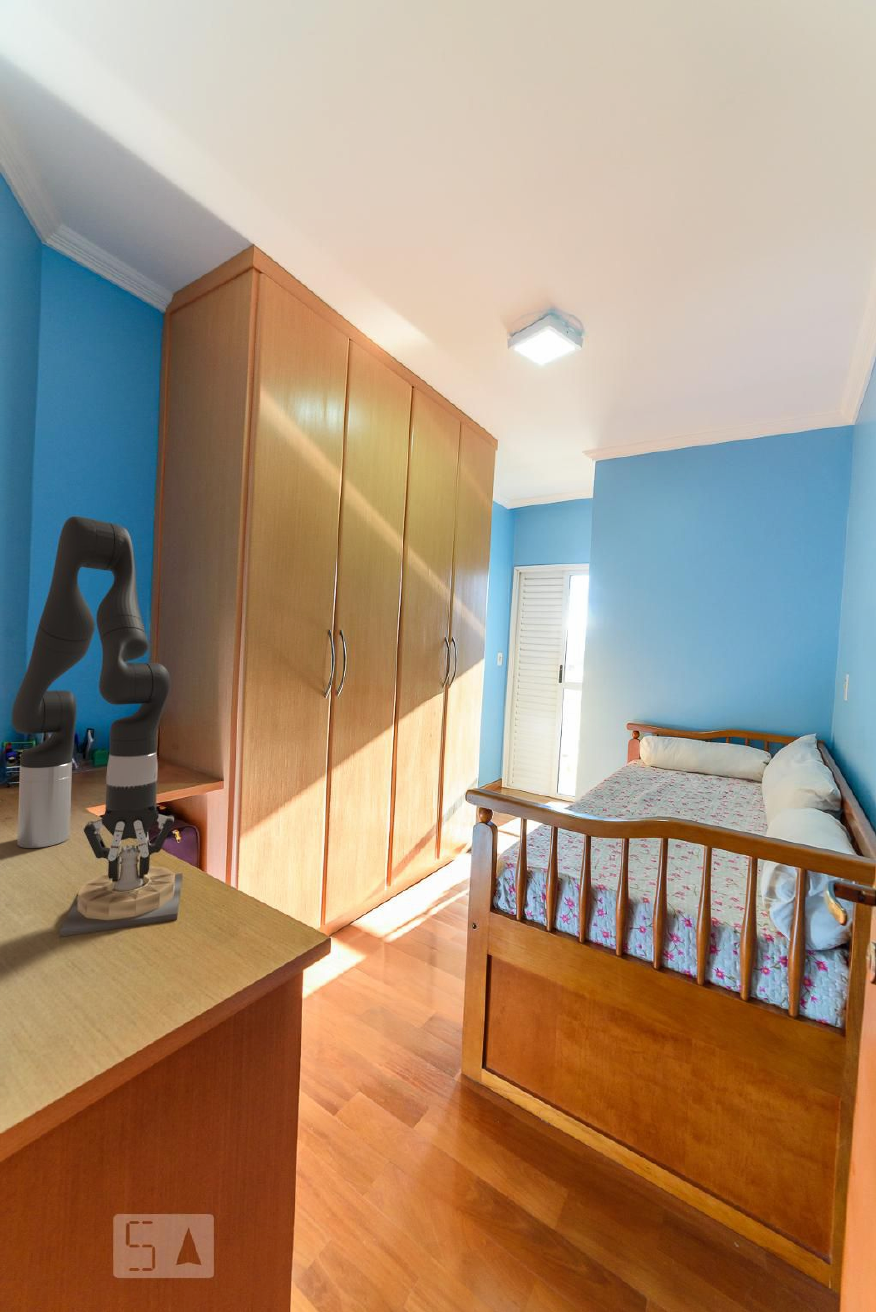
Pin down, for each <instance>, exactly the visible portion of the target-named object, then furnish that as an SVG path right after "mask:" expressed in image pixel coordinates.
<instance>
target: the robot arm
mask: <svg viewBox="0 0 876 1312" xmlns="http://www.w3.org/2000/svg"><path fill="white" fill-rule="evenodd" d="M81 568H86V569H93V570H101V571H108V572H111V573H112V575H113V583H112V585H111V587H110V588H109V590H108V592H107V593H106V594H105V596H104V597H103V599H102V600H101V602H100V603H99V605H98V608H97V610H96V611H97V612H96V622H95V619H94V615H93V613H92V611H91V609H90V607H89V605H88V603H87V602H86V600H85V598H84V597H83V594H82V591H81V590H80V586H79V583H78V576H79V572H80V570H81ZM136 574H137V573H136V563H135V552H134V545H133V541H132V537H131V536H130V533H129V531H128V530H127V529H126V528H125V527H124V526H122V525H119V524H115V523H111V522H106V521H101V520H97V519H92V518H88V517H83V516H70V517H69V518H67V520H65V522H64V524H63V526H62V528H61V531H60V535H59V539H58V543H57V550H56V555H55V562H54V566H53V572H52V578H51V583H50V586H49V589H48V594H47V597H46V601H45V604H44V607H43V611H42V614H41V616H40V619H39V623H38V626H37V630H36V634H35V638H34V643H33V647H32V650H31V651H32V652H31V655H30V659H29V663H28V666H27V669H26V671H25V673H24V677H23V678H22V682H21V684H20V687H19V688H18V691H17V694H16V696H15V700H14V702H13V705H12V710H11V725H12V728H13V729H14V731H16V732H17V733H19V734H22V735H23V734H24V735H36V734H48V733H51V734H50V736H49V737H48V738H47V739H46V740H44V741H43V742H41V743H39V744H37V745H35V746H33V747H30V748H26V749H25V750H24V751H22V752H21V754H20V757H19V784H18V785H19V787H18V789H19V790H18V792H19V793H18V817H17V819H18V820H17V844H16V845H17V846H18V847H21V848H24V849H35V848H36V849H37V848H38V849H39V848H46V847H49V846H55V845H57V844H61V843H63V842H65V841H67V840H69V838H70V834H71V833H70V832H71V830H70V829H71V802H72V801H71V800H72V778H73V776H72V774H73V772H72V769H73V753H74V748H75V733H76V723H77V710H78V708H77V706H78V705H77V701H76V697H75V695H74V693H73V692H71V691H69V690H61V689H60V690H59V689H58V690H48V689H49V688H50V687H51V685H52V684H53V683H54V682H55V681H56V680H57V679H59V678H60V677H61V676H62V675H64V674H65V673H66V672H68V671H69V670H70V669H71V668H73V667H74V666H76V665H77V664H78V663H79V662H80V661H81V660H82V659H84V658H85V656H86V654H87V653H88V651H89V648H90V646H91V642H92V641H93V640H92V639H93V638H94V633H95V630H96V627H97V632H98V635H99V639H100V643H101V648H102V659H101V660H102V661H101V663H102V664H101V670H100V676H99V681H98V683H99V684H98V690H99V691H98V692H99V693H100V695H101V697H102V698H103V700H105V702H107V703H108V704H111V705H116V706H119V705H120V706H121V705H124V706H125V705H137V704H138V705H140V704H141V705H140V707H139V708H138V710H137V711H136V712H135V713H134V714H132V715H129V716H126V717H120V718H118V719H115V720H114V721H113V722H112V723H111V725H110V730H109V731H110V732H109V754H108V761H107V766H106V775H105V782H106V789H105V810H104V814H103V816H102V817H101V818H99V819H98V820H95V821H93V820H91V821H88V822H87V823H86V825H85V826H84V828H83V832H84V834H85V836H86V839H87V840H88V843H89V845H90V847H91V850H92V851H93V853H94V855H95V858H96V859H106V860H107V861H108V863H107V864H108V865H107V866H108V868H107V869H108V870H107V873H108V877H109V879H112V882H117V881H118V878H119V869H120V866H121V864H120V862H121V861H120V859H121V857H120V856H119V853H120V852H119V851H120V847H121V843H122V841H124V840H129V839H134V840H135V839H136V841H137V845H138V849H139V850H140V856H139V866H138V867H139V879H142V878H144V876H145V875H147V874H148V872H149V868H150V866H151V865H150V863H151V861H150V860H151V855H153V854H155V853H156V854H157V853H159V852H161V850H162V848H163V846H164V843H165V841H166V840H167V838H168V835H169V833H170V830H171V829H172V828H173V827H172V826H173V825H174V822H175V817H174V815H172V814H170V815H163V814H160V811H159V810H158V808H157V795H158V794H157V793H158V792H157V790H158V789H157V787H158V766H159V765H158V755H157V752H158V751H157V750H158V749H157V747H158V745H157V744H158V729H159V725H160V721H161V718H162V715H163V711H164V708H165V705H166V702H167V700H168V697H169V693H170V690H171V676H170V673H169V671H168V669H167V668H166V667H165V666H164V665H163V664H161V663H157V662H130V661H134V660H137V659H139V658H142V657H143V656H145V654H146V653H147V652H148V650H149V641H148V636H147V633H146V631H145V630H146V629H145V627H144V623H143V618H142V616H141V611H140V605H139V600H138V588H137V576H136ZM156 822H158V829H160V832H159V833H158V835H157V838H156V839H155V842H153V843H150V840H149V831H150V829H151V828H152V827H153V826H154V825H155V823H156ZM103 826H104V827H105V828H106V830H107V831H108V832H109V833H110V834H111V835H112V836H113V837H112V840H111V844H110V847H106V844H105V841H104V839H103V837H102V835H101V832H102V830H103V828H102V827H103Z"/></svg>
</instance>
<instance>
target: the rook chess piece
mask: <svg viewBox="0 0 876 1312" xmlns="http://www.w3.org/2000/svg"><path fill="white" fill-rule="evenodd" d="M139 855H141V853H140V848H139V845H138V844H137V845H136V844H132V845H131V847H130V844H127V845H125V846H122V847H121V851H120V852H118V856H120V859H121V861H120V869H121V872H120V877H119V879H118V881H117V883H116V884H115V887H114V889H115V891H117V892H124V891H132V890H135V889H138V888H141V887H142V885H143V881H142V880H141V879H139V874H138V867H139V866H138V863H139V862H140V859H139V858H138V856H139Z"/></svg>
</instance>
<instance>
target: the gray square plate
mask: <svg viewBox="0 0 876 1312" xmlns="http://www.w3.org/2000/svg"><path fill="white" fill-rule="evenodd" d="M137 867H138V874H139V866H137ZM120 872H121V868H119V877H120ZM118 879H119V878H118ZM141 880H142V881H143V885H142V887H141V888H138V889H135V890H132V891H124V892H117V891H115V889H114V887H115V884H116V883H117V882H112V879H109V877H108V872H106V873H102V874H99V875H98V876H96V877H94V878H92V879H90V880H88V881H87V882H85V883H83V884H82V886H81V888H80V890H79V892H78V893H77V897H76V899H75V901H74V903H73V905H72V907H71V908H70V910H69V913H68V914H67V917H66V918H65V920H64V922H63V923H62V926H61V928H60V930H59V938H60V937H66V936H67V937H68V936H74V935H75V936H76V935H80V934H87V933H95V932H100V931H108V930H115V929H121V928H128V927H135V926H141V925H142V926H143V925H147V924H148V925H149V924H155V923H162V922H169V921H174V920H178V915H179V906H180V898H181V892H182V884H183V873H175V872H173V871H171V870H169V869H168V868H166V867H162V866H161V867H160V866H151V865H150V868H149V872H148V874H147V875H145V876H144V878H142V879H141Z"/></svg>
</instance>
